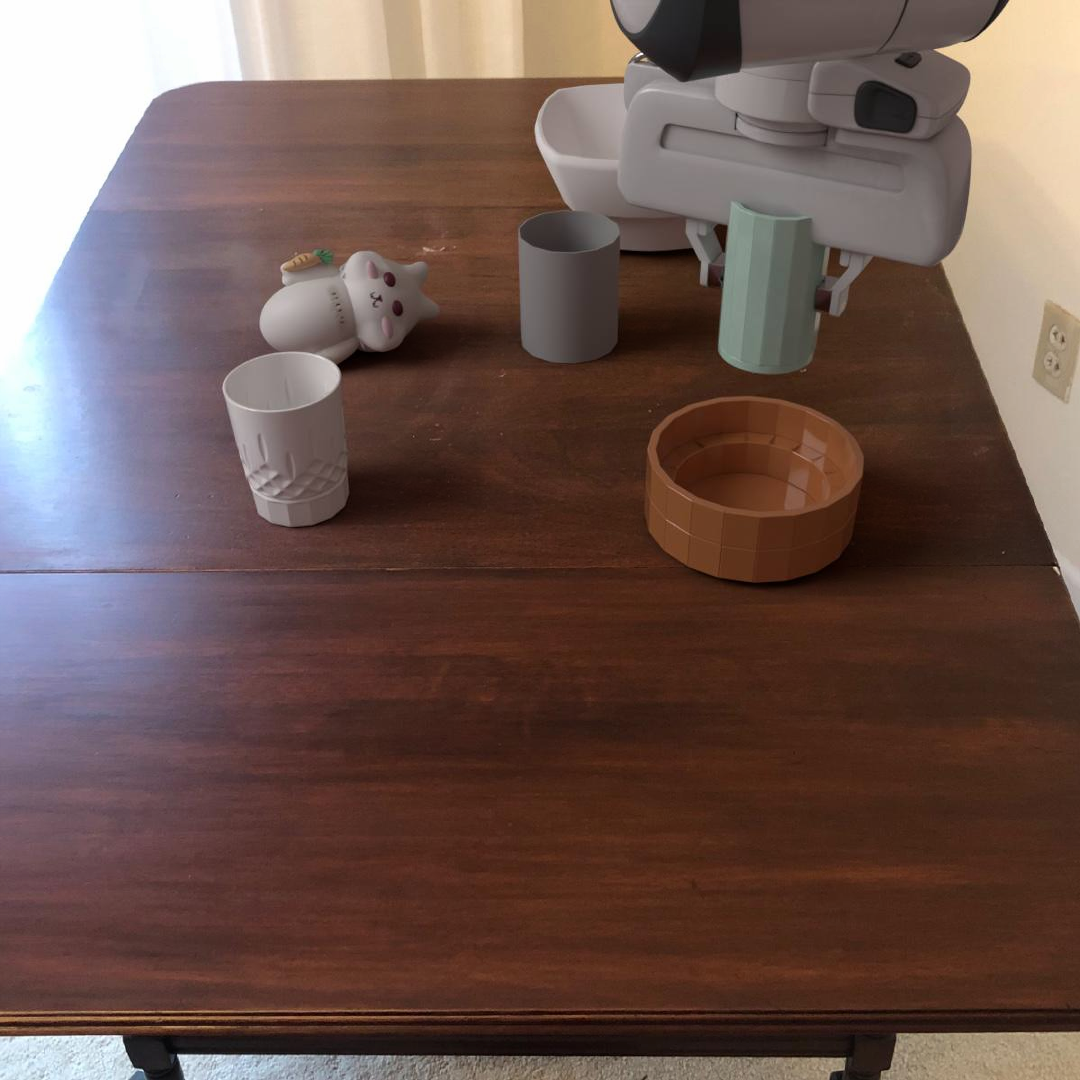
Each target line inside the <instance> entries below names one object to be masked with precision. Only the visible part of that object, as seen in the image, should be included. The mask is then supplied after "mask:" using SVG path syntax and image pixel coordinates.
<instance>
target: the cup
mask: <svg viewBox="0 0 1080 1080" xmlns="http://www.w3.org/2000/svg"><path fill="white" fill-rule="evenodd" d="M517 238H518V239H517V241H518V242H517V243H518V244H517V245H518V273H519V275H518V276H519V277H518V278H519V308H520V309H519V311H520V313H519V315H520V339H521V346H522V348H523V349H524V350H525V351H526V352H528V353H529V354H530V355H531V356H532V357H533V358H537V359H541V360H544V361H546V362H550V363H557V364H558V363H559V364H572V365H573V364H575V365H576V364H579V363H586V362H591V361H596V360H598V359H600V358H602V357H604V356H605V355H608V354H610V353H611V352H612V351H613V349H614V348H615V346H616V345H617V343H618V333H619V331H618V330H619V298H620V297H619V296H620V295H619V294H620V293H619V292H620V260H621V259H620V257H621V253H620V252H621V250H620V231H619V228H618V224H617V223H615V222H614V221H612V220H610V219H609V218H607V217H606V216H603V215H599V214H595V213H591V212H587V211H573V210H572V209H571V210H567V209H562V210H556V211H549V212H542V213H540V214H537V215H535V216H532V217H529V218H528V219H525V221H523V223H522V224H521V225H520V226H519V227H518V228H517Z"/></svg>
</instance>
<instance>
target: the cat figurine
mask: <svg viewBox="0 0 1080 1080" xmlns="http://www.w3.org/2000/svg"><path fill="white" fill-rule="evenodd" d="M334 253H335V252H334V251H332V250H331V249H328V250H326V249H324V248H323V249H321V248H318V249H314V250H313V252H312V253H308V252H306V253H301V254H298V255H297V256H295V257H293V258H292V259H291V260H289V261H286V262H284V263H283V264H281V265H280V272H281V274H282V276H281V282H282V284H283V285H284V287H282V288H281V289H279V290H278V291H276V292H275V293H274V294H273V295H271V297H270V298H269V299H268V300H267V301H266V303H265V304H264V306H263V308H262V310H261V312H260V315H259V316H260V317H259V329H260V333H261V335H262V337H263V339H264V340H265V341H266V342H267V344H269V346H271V347H272V348H274V349H275V350H277V351H278V352H307V353H312V354H317V355H320V356H323V357H325V358H327V359H329V360H331V361H332V362H334V363H335V364H336V365H337V366H338V365H339V364H340V363H342V362H344V361H346V359H348V358H349V357H350V356H352V355H353V354H354V353H355V352H356V351H357V350H360V351H362V352H367V353H375V352H378V353H379V352H380V353H384V352H390V351H392V350H394V349H396V348H398V347H399V346H400V345H401V343H403V341H404V338H405V337H406V336H408V335H409V333H410V332H411V331H412V330H413V329H414V327H415V326H416V325H417V324H418V323H419V322H421V321H423V320H430V319H431V320H432V319H434V318H437V317H438V316H439V314H440V306H439V304H438V303H437V302H435V301H434V300H432V299H431V298H429V297H427V296H426V295H425V294H424V293H423V287H424V284H425V283H426V281H427V279H428V277H429V274H430V267H429V265H428V264H427V263H426V262H425V261H416V262H414V263H412V264H402V263H399V262H396V261H394V260H391V259H388V258H384V257H383V256H382V255H381V254H380V253H377V252H376V251H372V250H362V251H361V250H360V251H357V252H355V253H353V254H352V255H351V256H350V257H349V258H348V260H347V261H346V262H345V263H343V264H341V265H340V267H339V268H338V267H336V266H334V265H332V264H334V263H335V262H334V261H335V260H334V255H335V254H334Z"/></svg>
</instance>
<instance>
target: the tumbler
mask: <svg viewBox="0 0 1080 1080" xmlns="http://www.w3.org/2000/svg"><path fill="white" fill-rule="evenodd" d="M811 220H812V218H811V217H806V216H800V217H775V216H770V215H764V214H759V213H756V212H754V211H751V210H749V209H746V208H745V207H744V206H742V205H741V204H740V203H737V202H731V210H730V220H729V226H727V225H726V226H727V228H726V239H725V250H724V253H725V261H724V273H723V285H722V290H721V299H720V307H719V308H720V310H719V322H718V335H717V338H718V340H717V351H718V354H719V356H720V357H721V358H722V359H723V360H724V362H726V363H727V364H729V365H731V366H732V367H734V368H737V369H739V370H742V371H745V372H749V373H754V374H760V375H783V374H788V373H793V372H796V371H800V370H802V369H804V368H805V367H806V366H808V365H809V364H810V363H812V361H813V359H814V357H815V351H816V349H817V343H818V337H819V329H820V322H821V316H822V315H821V314H822V313H818V312H815V311H814V305H815V303H816V302H817V299H816V291H817V287H818V286H819V285H820V284H821V283H822V282H823V280H824V279H825V277H826V276H827V272H828V265H829V258H830V251H831V247H827V246H822V245H817V244H813V243H812V242H811V241H810V226H811Z"/></svg>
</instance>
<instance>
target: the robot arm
mask: <svg viewBox="0 0 1080 1080" xmlns="http://www.w3.org/2000/svg"><path fill="white" fill-rule="evenodd" d="M1009 2H1010V0H609V3H610V7H611V11H612V14H613V18H614V20H615V22H616V25H617V27H618V28H619V31H621V33H623V35H624V36H625V37H626V38H627V39H628V41H629V42H630V43H631V44H632V45H634V47H635V48H636V49H637V50H638V51H639V52H637V53H636V54H634V55H633V56H632V57H631V59H630V60H629V61H628V63H627V65H626V67H625V69H624V70H625V71H624V76H623V83H624V103H625V106H626V109H627V111H628V112H627V116H626V120H625V125H624V130H623V135H622V141H621V148H620V155H619V164H618V175H617V185H618V189H619V190H620V192H621V194H622V196H623V197H624V199H625V200H626V202H627V203H628V204H629V205H632V206H636V207H641V208H646V209H651V210H655V211H660V212H665V213H670V214H675V215H679V216H684V217H686V234H687V236H688V238H689V240H690V242H691V245H692V247H693V248H692V249H693V250H694V252H695V255H696V257H697V259H698V261H700V274H699V275H700V276H699V284H700V286H702V287H706V288H711V289H715V290H720V291H722V285H723V273H724V261H725V251H724V252H723V249H722V247H721V244H720V241H719V239H718V236H717V234H716V231H715V228H716V227H717V226H718V225H722V226H729V220H730V210H731V202H737V203H740V204H741V205H742V206H744V207H745V208H746V209H749V210H751V211H754V212H756V213H759V214H764V215H770V216H775V217H800V216H806V217H811V218H812V220H811V226H810V241H811V242H812V243H813V244H817V245H822V246H827V247H830V248H833V249H837V250H840V256H839V265H840V266H841V267H846V268H847V269H846V270H845V271H844V272H843V274H842V275H840V277H836V276H831V275H826V277H825V279H824V280H823V282H822V283H821V284H820V285H819V286H818V287H817V291H816V299H817V302H816V303H815V305H814V311H815V312H818V313H821V314H823V315H826V316H832V317H835V318H839V317H840V316H841V314H843V312H844V311H845V309H846V307H847V304H848V299H849V294H850V293H849V291H850V286H851V284H852V283H853V282H854V281H855V280H856V278H857V277H858V276H859V275H860V274H861V273H862V272H863V270H864V269H865V268H866V267H867V265H868V264H869V263H870V262H871V260H872V259H873V258H874V257H875V258H879V259H885V260H888V261H894V262H899V263H902V264H903V263H904V264H908V265H912V266H918V267H922V268H933V267H935V266H936V265H938V264H940V263H941V262H942V261H944V260H945V259H946V258H947V257H949V256H950V255H951V254H952V252H953V251H954V250H955V248H956V247H957V245H958V244H959V242H960V240H961V238H962V235H963V231H964V229H965V224H966V218H967V212H968V207H969V206H968V205H969V199H970V198H969V197H970V190H971V189H970V188H971V177H972V157H973V155H972V153H973V152H972V151H973V150H972V149H973V148H972V140H971V135H970V132H969V129H968V127H967V125H966V124H965V122H964V121H963V119H962V118H961V117H960V116H958V113H959V112H960V110H961V109H962V107H963V106H964V103H965V101H966V98H967V96H968V93H969V90H970V86H971V80H972V79H971V78H972V77H971V72H970V70H969V68H967V66H966V65H964V64H963V63H961V62H959V61H958V60H956V59H954V58H951V57H949V56H947V55H945V54H943V53H941V52H939V51H938V50H939V49H944V48H948V47H951V46H954V45H957V44H960V43H968V42H971V41H973V40H975V39H976V38H978V37H979V36H980V35H982V33H984V31H986V30H987V29H988V28H989V27H990V26H991V25H992V24H993V23H994V22H995V20H997V18H998V17H999V16H1000V14H1001V13H1002V12H1003V10H1004V9H1005V8H1006V7H1007V5H1008V4H1009ZM643 59H646V60H643Z"/></svg>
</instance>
